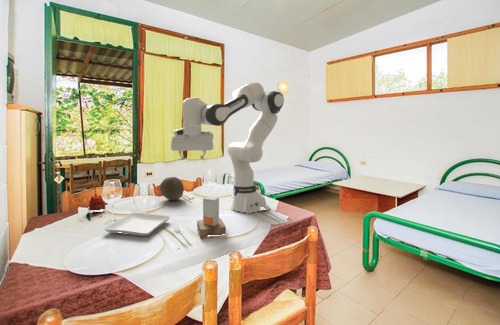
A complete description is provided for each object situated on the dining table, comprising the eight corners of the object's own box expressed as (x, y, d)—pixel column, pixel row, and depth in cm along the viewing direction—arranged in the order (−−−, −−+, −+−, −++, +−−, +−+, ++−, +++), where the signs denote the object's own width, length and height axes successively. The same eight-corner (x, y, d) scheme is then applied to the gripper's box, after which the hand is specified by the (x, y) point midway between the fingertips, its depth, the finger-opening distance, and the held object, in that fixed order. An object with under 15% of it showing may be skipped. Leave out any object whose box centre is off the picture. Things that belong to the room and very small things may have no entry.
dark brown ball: (174, 196, 174) (173, 174, 172) (188, 199, 166) (188, 177, 164) (156, 200, 163) (155, 177, 161) (170, 205, 155) (169, 180, 153)
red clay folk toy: (90, 215, 136) (88, 187, 134) (88, 211, 141) (86, 184, 139) (106, 212, 140) (105, 185, 138) (104, 208, 146) (102, 183, 144)
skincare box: (202, 224, 115) (202, 198, 114) (208, 221, 119) (208, 195, 118) (214, 226, 113) (214, 200, 111) (219, 223, 117) (219, 197, 115)
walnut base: (220, 226, 124) (220, 218, 123) (225, 235, 113) (225, 226, 113) (197, 228, 120) (197, 220, 120) (200, 238, 110) (200, 229, 109)
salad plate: (147, 240, 108) (147, 232, 108) (103, 235, 112) (102, 228, 111) (171, 222, 129) (171, 215, 128) (133, 218, 132) (132, 212, 132)
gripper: (212, 131, 132) (212, 158, 134) (170, 131, 125) (171, 159, 127) (214, 131, 126) (214, 159, 128) (170, 131, 119) (171, 160, 121)
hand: (192, 159), depth 127 cm, fingers open, 8 cm apart
